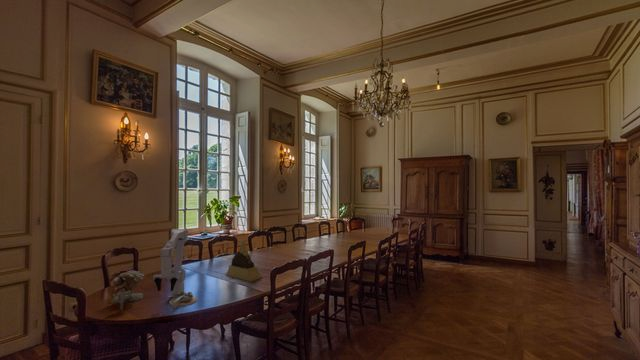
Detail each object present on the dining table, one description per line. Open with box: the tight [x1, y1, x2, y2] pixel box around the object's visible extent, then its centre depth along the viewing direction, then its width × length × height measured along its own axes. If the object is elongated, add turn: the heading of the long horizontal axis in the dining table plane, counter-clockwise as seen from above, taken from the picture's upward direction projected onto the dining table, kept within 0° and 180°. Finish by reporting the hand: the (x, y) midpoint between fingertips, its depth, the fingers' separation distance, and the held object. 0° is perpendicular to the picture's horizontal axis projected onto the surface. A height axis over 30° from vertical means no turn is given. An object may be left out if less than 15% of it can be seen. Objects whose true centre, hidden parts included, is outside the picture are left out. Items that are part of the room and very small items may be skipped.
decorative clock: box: [225, 239, 263, 282], centre depth 262 cm, size 28×13×30 cm, turn 55°
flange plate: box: [169, 295, 198, 307], centre depth 205 cm, size 16×16×1 cm
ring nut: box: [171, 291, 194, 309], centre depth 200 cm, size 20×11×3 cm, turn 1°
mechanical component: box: [111, 290, 133, 311], centre depth 191 cm, size 3×10×10 cm, turn 134°
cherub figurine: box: [109, 270, 145, 304], centre depth 211 cm, size 18×18×18 cm
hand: (165, 290), depth 196 cm, fingers open, 7 cm apart
